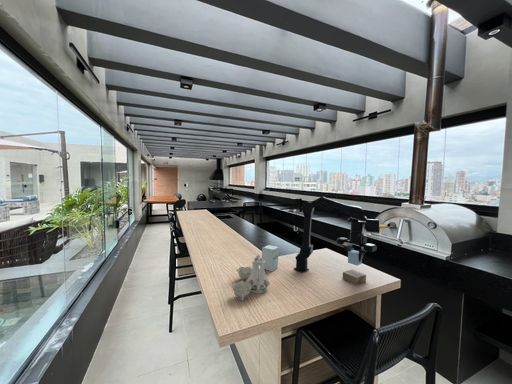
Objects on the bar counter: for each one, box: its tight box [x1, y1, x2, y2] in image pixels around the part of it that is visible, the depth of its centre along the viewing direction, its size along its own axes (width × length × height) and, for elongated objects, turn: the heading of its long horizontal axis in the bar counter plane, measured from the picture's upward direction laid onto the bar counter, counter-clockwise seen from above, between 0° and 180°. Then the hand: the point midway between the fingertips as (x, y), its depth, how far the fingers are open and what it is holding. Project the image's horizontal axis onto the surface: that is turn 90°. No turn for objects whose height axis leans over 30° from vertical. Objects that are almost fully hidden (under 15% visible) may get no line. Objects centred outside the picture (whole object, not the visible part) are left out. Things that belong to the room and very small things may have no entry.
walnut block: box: [342, 269, 367, 286], centre depth 113 cm, size 8×8×4 cm
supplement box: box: [261, 244, 279, 272], centre depth 125 cm, size 7×7×13 cm
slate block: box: [347, 249, 363, 266], centre depth 113 cm, size 5×5×6 cm
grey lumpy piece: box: [231, 254, 270, 302], centre depth 100 cm, size 28×17×17 cm, turn 3°
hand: (354, 260), depth 113 cm, fingers closed on slate block, 5 cm apart
